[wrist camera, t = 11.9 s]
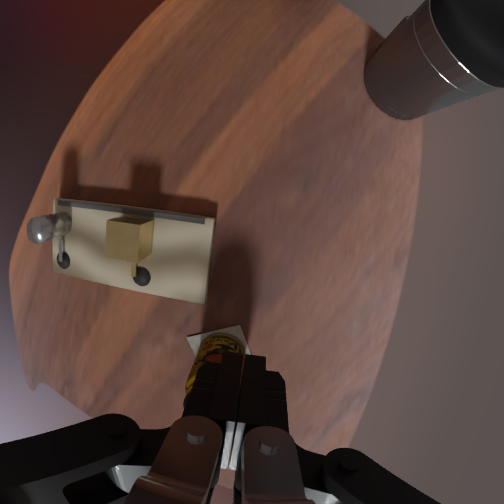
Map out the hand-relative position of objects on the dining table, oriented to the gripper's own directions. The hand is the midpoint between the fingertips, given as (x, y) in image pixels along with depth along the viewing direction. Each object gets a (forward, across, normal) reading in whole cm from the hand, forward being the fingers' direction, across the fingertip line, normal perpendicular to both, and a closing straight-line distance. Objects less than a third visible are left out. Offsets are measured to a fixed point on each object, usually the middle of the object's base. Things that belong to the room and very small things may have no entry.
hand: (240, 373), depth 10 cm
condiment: (+25, +2, +16) cm, 30 cm away
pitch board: (+25, +16, +3) cm, 30 cm away
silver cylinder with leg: (+23, +25, +3) cm, 34 cm away
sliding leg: (+23, +14, +2) cm, 27 cm away
